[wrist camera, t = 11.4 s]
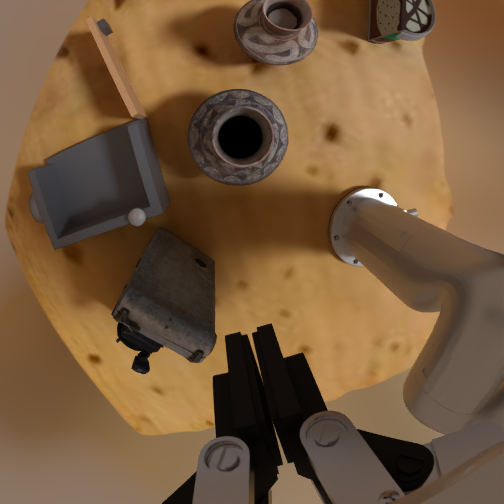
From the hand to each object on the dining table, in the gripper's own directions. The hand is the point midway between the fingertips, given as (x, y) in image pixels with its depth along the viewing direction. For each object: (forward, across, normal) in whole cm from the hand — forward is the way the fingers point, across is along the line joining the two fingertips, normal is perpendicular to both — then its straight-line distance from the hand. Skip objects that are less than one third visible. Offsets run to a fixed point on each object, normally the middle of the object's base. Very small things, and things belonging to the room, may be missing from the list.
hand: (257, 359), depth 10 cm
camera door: (+31, +8, -21) cm, 38 cm away
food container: (+32, -31, -22) cm, 50 cm away
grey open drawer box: (+32, +16, -7) cm, 37 cm away
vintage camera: (+32, +12, +10) cm, 36 cm away
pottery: (+32, -7, -13) cm, 36 cm away
